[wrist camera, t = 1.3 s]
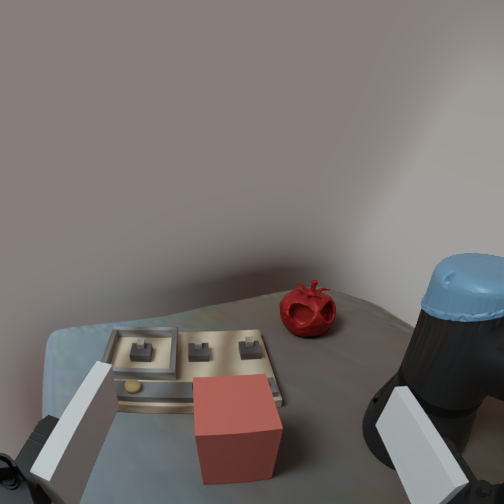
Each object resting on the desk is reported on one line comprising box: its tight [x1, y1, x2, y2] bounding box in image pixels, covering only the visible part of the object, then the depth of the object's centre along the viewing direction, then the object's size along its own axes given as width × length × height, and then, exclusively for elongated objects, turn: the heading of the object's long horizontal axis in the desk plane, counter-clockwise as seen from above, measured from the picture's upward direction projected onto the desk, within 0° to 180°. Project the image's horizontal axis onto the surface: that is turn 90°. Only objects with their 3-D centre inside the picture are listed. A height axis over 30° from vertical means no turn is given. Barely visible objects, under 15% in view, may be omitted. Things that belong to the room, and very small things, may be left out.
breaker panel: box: [101, 327, 282, 414], centre depth 40 cm, size 24×16×4 cm, turn 99°
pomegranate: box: [280, 280, 336, 337], centre depth 52 cm, size 10×10×9 cm
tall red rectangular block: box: [193, 373, 283, 485], centre depth 26 cm, size 7×7×10 cm
